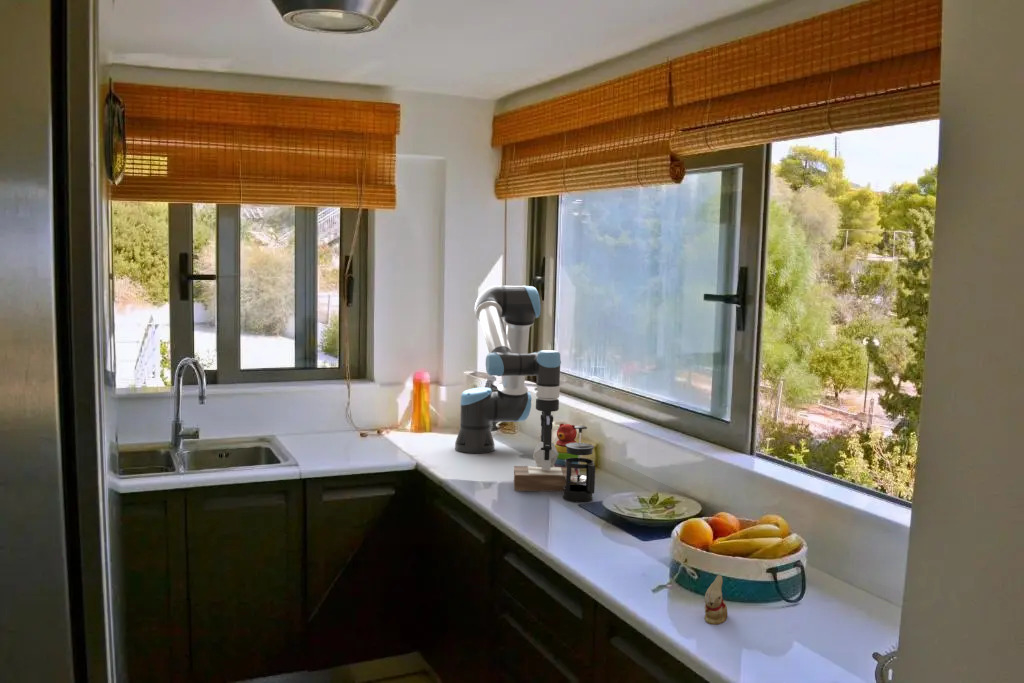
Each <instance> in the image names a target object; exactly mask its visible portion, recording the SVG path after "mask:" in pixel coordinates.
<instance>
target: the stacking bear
mask: <svg viewBox="0 0 1024 683" xmlns="http://www.w3.org/2000/svg"><path fill="white" fill-rule="evenodd" d="M575 426H576V425H574V424H568V423H567V424H564V423H559V427H558V428H557V431H556V436H557V439H558V440H557V441H556V443H555V444H554V445H555V447H556V450H557V452H558V457H557V459H556V462H555V464H554V466H553V467H567V466H565V459H568V458H579V455H573V454H569V453H567V447H566V446H565V445H566V444H568V443H578V442H577V441H576V438H577V434H578V433H577V429H576V428H574V427H575ZM572 464H579V462H572ZM574 469H575V472H576V475H578V468H574Z"/></svg>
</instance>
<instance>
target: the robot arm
mask: <svg viewBox="0 0 1024 683" xmlns="http://www.w3.org/2000/svg"><path fill="white" fill-rule="evenodd" d="M474 314H475V317H476V319H477V320H478V321H479V322H480V326H481V328H482V331H483V335H484V340H485V343H486V346H487V350H488V353H487V354H486V357H485V372H486V373H487V375H489V376H496V377H502V379H501V382H500V384H499V385H497V390H496V391H493V390H492V388H491V387H481V386H480V387H474V388H469V389H466V390H464V391H462V393H461V395H460V396H461V397H460V403H459V404H460V417H459V418H460V419H459V420H460V421H459V422H460V423H459V431H458V435H457V437H456V440H455V444H454V448H455V450H456V451H458V452H461V453H467V454H468V453H469V454H484V453H491V452H494V451H495V444H496V443H495V441H494V437H493V433H492V431H491V423H508V422H509V423H512V422H513V423H517V422H525V421H526V420H527V419H528V418H529V416H530V413H531V409H532V394H531V393H530V391H528V387H527V386H526V384H525V381H526V380H525V379H526V377H530V376H534V377H535V376H536V387H534V391H536V393H535V395H536V397H537V398H536V399H535V409H536V410H537V411H539V412H541V414H540V427H541V428H540V442H543V448H541V450H543V451H542V470H550V466H551V449H552V447H551V443H553V442H552V435H553V433H552V432H553V425H554V424H553V423H554V416H553V414H552V413H553V412H558V411H559V409H560V399H559V398H560V390H561V388H560V387H561V386H560V381H561V364H562V361H561V352H559V351H557V350H553V349H552V350H550V349H548V350H547V349H543V350H541V349H540V350H539V351H534V352H532V353H531V352H528V350H529V349H528V348H529V339H530V328H531V327H532V326H533V325H534V324H535V319H538V318H539V317H540V316H541V300H540V294H539V291H538V290H537V288H536V286H535V287H534V286H532V285H530V286H529V285H492V286H489V287H487V288H486V289H484V290H483V291H482V292H481V293H480V294H479V295H478V297H477V299H476V302H475V304H474ZM504 324H505V325H506V327H505V325H504ZM505 328H506V329H505ZM545 445H549V446H545Z"/></svg>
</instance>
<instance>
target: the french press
mask: <svg viewBox="0 0 1024 683" xmlns="http://www.w3.org/2000/svg"><path fill="white" fill-rule="evenodd" d="M574 428H576V430H578V433H579V442H577V443H568V444H566V445H565V446H566V447H567V453H569V454H573V455H579V458H568V459H565V466H567V476H566V477H565V479H566V486H564V491H563V495H562V499H563V500H565V501H567V502H571V503H588V502H591V501H593V499H594V497H593V495H594V494H595V486H596V485H595V483H596V465H595V464H594V462H595V461H594V460H593V459H590V458H584V457H581V456H589V455H592V454H593V453H594V452H593V450H594V448H595V446H594V445H593V444H591V443H586V442H581V440H582V438H581V436H582V433H583V430H587V429H588V427H587V426H585V425H575V427H574ZM572 462H579V464H572ZM581 463H582V464H581ZM583 463H586V464H583ZM572 468H578V475H571V469H572ZM580 469H581V470H582V469H586V473H585V475H580ZM571 483H577V484H571Z"/></svg>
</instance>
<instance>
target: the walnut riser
mask: <svg viewBox="0 0 1024 683" xmlns="http://www.w3.org/2000/svg"><path fill="white" fill-rule="evenodd" d="M571 475H576V472H575V469H574V468H572V469H571ZM566 476H567V467H555V466H553V468H550V470H542V467H537V465H535V466H534V465H533V466H531V465H529V466H528V465H514V466H513V485H514V486H513V488H514V491H525V492H526V491H528V492H529V491H533V492H537V491H538V492H564V486H566V479H565V477H566ZM571 484H578V483H571Z"/></svg>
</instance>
